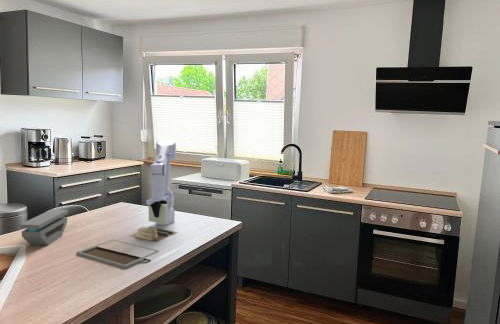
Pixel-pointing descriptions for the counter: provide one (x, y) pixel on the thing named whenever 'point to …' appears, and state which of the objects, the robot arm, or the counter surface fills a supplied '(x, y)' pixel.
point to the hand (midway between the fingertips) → (158, 216)
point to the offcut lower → (146, 236)
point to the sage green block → (162, 214)
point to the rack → (160, 234)
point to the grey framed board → (114, 256)
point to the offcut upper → (147, 231)
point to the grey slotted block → (45, 227)
